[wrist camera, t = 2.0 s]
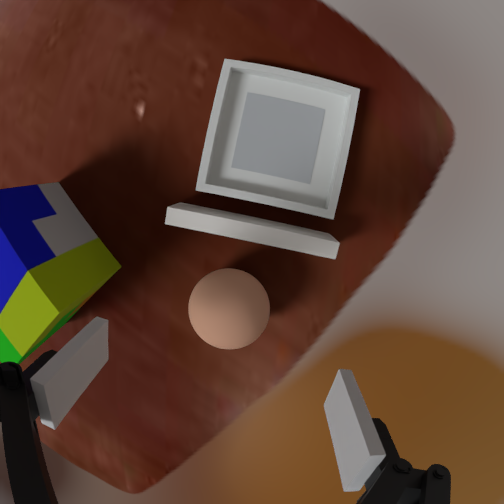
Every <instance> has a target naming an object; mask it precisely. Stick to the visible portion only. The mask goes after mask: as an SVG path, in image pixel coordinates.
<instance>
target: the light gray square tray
mask: <svg viewBox="0 0 504 504" xmlns="http://www.w3.org/2000/svg"><path fill="white" fill-rule="evenodd" d="M359 93H360V89H358V88H355V87H352V86H348V85H345V84H342V83H338V82H335V81H331V80H328V79H324V78H320V77H316V76H313V75H309V74H304V73H300V72H296V71H291V70H287V69H282V68H277V67H272V66H267V65H261V64H256V63H250V62H243V61H237V60H230V59H224V63H223V67H222V71H221V75H220V79H219V83H218V87H217V91H216V95H215V99H214V104H213V108H212V112H211V117H210V121H209V126H208V130H207V135H206V140H205V144H204V149H203V154H202V159H201V164H200V169H199V174H198V179H197V185H196V191H201V192H207V193H212V194H217V195H222V196H227V197H232V198H237V199H242V200H247V201H252V202H257V203H262V204H266V205H271V206H276V207H280V208H285V209H289V210H294V211H298V212H303V213H307V214H311V215H316V216H320V217H324V218H329V219H334V215H335V211H336V207H337V203H338V198H339V194H340V190H341V185H342V181H343V176H344V172H345V167H346V162H347V157H348V152H349V147H350V142H351V137H352V132H353V127H354V121H355V116H356V110H357V105H358V99H359Z"/></svg>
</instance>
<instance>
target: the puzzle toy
mask: <svg viewBox="0 0 504 504" xmlns="http://www.w3.org/2000/svg"><path fill="white" fill-rule="evenodd" d="M121 267H122V266H121V265H120V264H119V263H118V261H117V260H116V259H115V258H114V257H113V255H112V254H111V253H110V252H109V250H108V249H107V248H106V246H105V245H104V244H103V243H102V241H101V240H100V239H99V237H98V236H97V235H96V234H95V232H94V231H93V230H92V228H91V227H90V226H89V224H88V223H87V222H86V220H85V219H84V218H83V216H82V215H81V213H80V212H79V211H78V209H77V208H76V207H75V205H74V204H73V202H72V201H71V199H70V198H69V197H68V195H67V194H66V192H65V191H64V189H63V188H62V187H61V185H60V184H59V182H57V183H47V184H38V185H29V186H21V187H13V188H6V189H0V361H1V363H3V362H8V361H10V362H15V363H17V364H20V363H21V362H22V361H23V360H24V359H26V358H27V357H28V356H29V355H30V354H31V353H32V352H33V351H34V350H36V349H37V348H38V347H39V346H40V345H41V344H42V343H43V342H45V341H46V340H47V339H48V338H49V337H50V336H51V335H53V334H54V333H55V332H56V331H57V330H58V329H60V328H61V327H62V326H63V325H64V324H65V323H66V322H67V321H68V320H69V319H70V318H71V317H72V316H73V315H74V314H75V313H76V312H77V311H78V310H79V309H80V308H81V307H82V306H83V305H84V304H85V303H86V302H87V301H88V300H89V299H90V298H91V297H92V296H93V295H94V293H95V292H96V291H97V290H98V289H99V288H100V287H101V286H102V285H104V284H105V283H106V282H107V281H108V280H109V279H110V278H111V277H112V276H113V275H114V274H115V273H116V272H117V271H118V270H119V269H120V268H121Z"/></svg>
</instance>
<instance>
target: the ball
mask: <svg viewBox="0 0 504 504" xmlns="http://www.w3.org/2000/svg"><path fill="white" fill-rule="evenodd" d="M188 310H189V317H190V321H191V324H192V326H193V328H194V330H195V331H196V333H197V334H198V335H199V336H200V337H201V338H202V339H203V340H204V341H205V342H207V343H208V344H210V345H212V346H215V347H218V348H221V349H238V348H241V347H244V346H247V345H249V344H250V343H252V342H254V341H255V340H256V339H257V338H258V337H259V336H260V335H261V334H262V332H263V331H264V329H265V327H266V325H267V323H268V320H269V315H270V303H269V299H268V295H267V293H266V291H265V289H264V287H263V286H262V285H261V283H260V282H259V281H258V280H257V279H256V278H255V277H253V276H252V275H250V274H249V273H247V272H244V271H242V270H238V269H231V268H226V269H220V270H216V271H213V272H211V273H209V274H208V275H206V276H205V277H203V278H202V279H201V280H200V281H199V282H198V283H197V285H196V286H195V287H194V289H193V291H192V294H191V296H190V300H189V309H188Z"/></svg>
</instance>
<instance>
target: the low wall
mask: <svg viewBox="0 0 504 504" xmlns="http://www.w3.org/2000/svg"><path fill="white" fill-rule="evenodd" d="M165 224H167V225H172V226H177V227H182V228H187V229H192V230H197V231H202V232H207V233H212V234H217V235H222V236H226V237H231V238H236V239H241V240H246V241H251V242H255V243H260V244H265V245H270V246H274V247H279V248H284V249H289V250H293V251H298V252H303V253H308V254H312V255H317V256H322V257H326V258H331V259H336V255H337V251H338V248H339V244H340V243H339V242H338V241H337V240H336V239H335V238H334V237H333V236H332V235H330V234H329V233H325V232H321V231H316V230H312V229H308V228H303V227H299V226H294V225H289V224H285V223H280V222H276V221H271V220H266V219H261V218H257V217H252V216H247V215H242V214H237V213H232V212H227V211H222V210H217V209H212V208H207V207H202V206H197V205H192V204H187V203H181V202H180V203H177V204H174V205H171V206H169V207H167V213H166V219H165Z"/></svg>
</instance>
